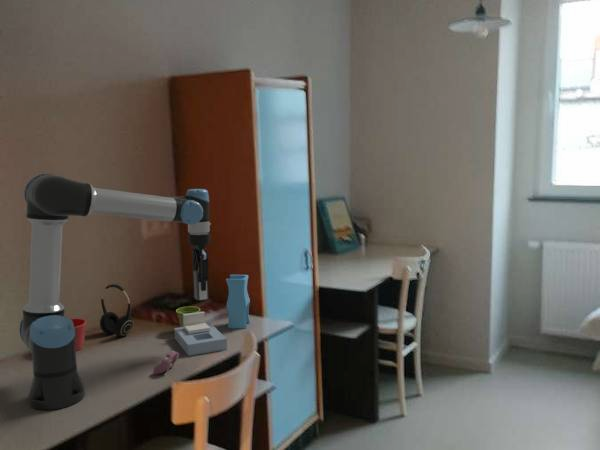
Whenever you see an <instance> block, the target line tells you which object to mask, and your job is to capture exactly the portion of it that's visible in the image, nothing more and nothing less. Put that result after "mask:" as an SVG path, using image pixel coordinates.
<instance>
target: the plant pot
mask: <svg viewBox="0 0 600 450" xmlns="http://www.w3.org/2000/svg"><path fill="white" fill-rule="evenodd" d="M175 312H176V314H177V318H178V322H179V328H180V327H183V314H189V313H197V312H201V308H200V307H198V306H193V305H191V306H190V305H189V306H183V307H182V306H181V307H178V308H177V309H176V310H175Z"/></svg>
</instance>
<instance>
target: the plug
mask: <svg viewBox="0 0 600 450" xmlns="http://www.w3.org/2000/svg"><path fill="white" fill-rule="evenodd" d="M193 274H194V275H193ZM192 275H193V292H194V293H193V297H194V299H195V300H196V301H200V300H199V282H198V280H199V269H198V270H193V269H192ZM204 300H209V280H208V281H207V299H203V300H202V301H204Z"/></svg>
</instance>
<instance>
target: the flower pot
mask: <svg viewBox="0 0 600 450" xmlns="http://www.w3.org/2000/svg"><path fill="white" fill-rule="evenodd" d="M70 319H71V320H72V322H73V324H74V328H75V346H76V352H78V351H80V350H82V349H83V348H84V345H85V339H86V338H85V337H86V327H87V320H85V319H84V318H74V317H73V318H70Z"/></svg>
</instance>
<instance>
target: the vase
mask: <svg viewBox="0 0 600 450" xmlns="http://www.w3.org/2000/svg"><path fill="white" fill-rule="evenodd" d="M225 281H226V284H227V287H228V296H227V301H226V309H227V313H228V323H227V328H228V329H243V330H244V329H245V330H246V329H248V326H247V324H250V323H251V320H250V315H249V310H250V309H249V307H250V303H251V299H250V297H249V293H248V281H249V275H248V274H230V275H229V278H226V279H225Z"/></svg>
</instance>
